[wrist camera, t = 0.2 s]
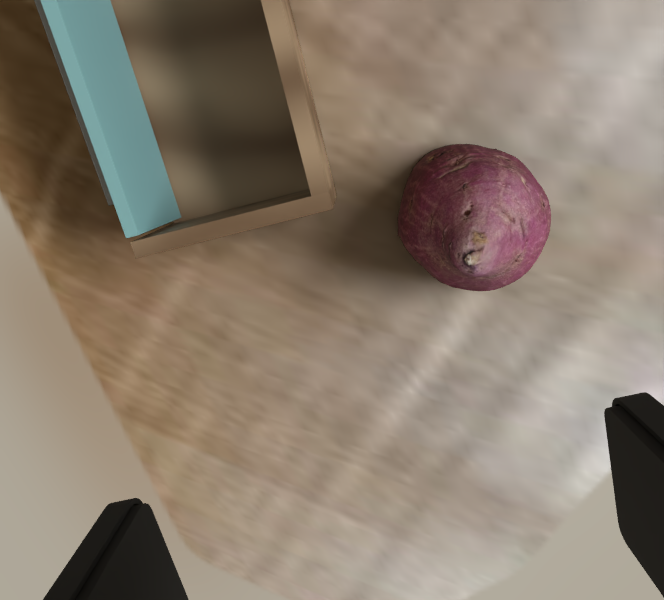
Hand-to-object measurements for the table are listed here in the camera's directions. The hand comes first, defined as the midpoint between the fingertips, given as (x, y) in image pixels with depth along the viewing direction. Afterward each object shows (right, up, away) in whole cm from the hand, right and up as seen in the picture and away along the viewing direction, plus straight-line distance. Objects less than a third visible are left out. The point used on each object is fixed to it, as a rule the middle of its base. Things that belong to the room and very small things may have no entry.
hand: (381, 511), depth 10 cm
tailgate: (-16, +21, +24) cm, 36 cm away
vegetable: (+9, +11, +29) cm, 32 cm away
